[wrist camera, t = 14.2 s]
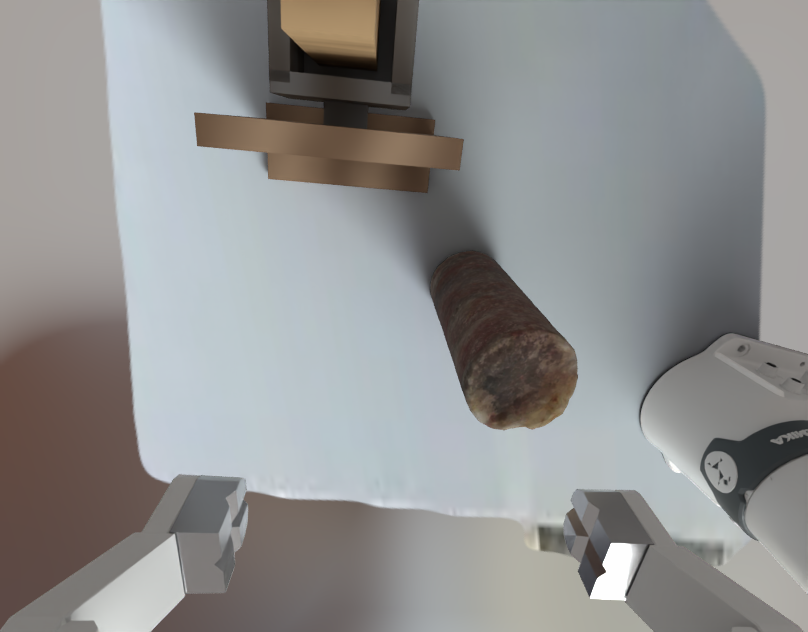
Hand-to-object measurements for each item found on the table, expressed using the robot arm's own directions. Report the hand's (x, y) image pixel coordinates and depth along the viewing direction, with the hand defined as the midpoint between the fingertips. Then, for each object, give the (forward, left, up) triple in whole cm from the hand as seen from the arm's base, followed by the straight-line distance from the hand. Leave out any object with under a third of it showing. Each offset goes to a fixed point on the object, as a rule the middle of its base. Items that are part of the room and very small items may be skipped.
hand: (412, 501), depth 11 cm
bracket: (+4, -11, -33) cm, 35 cm away
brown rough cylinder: (-8, +5, -33) cm, 35 cm away
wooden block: (+4, -14, -26) cm, 30 cm away
